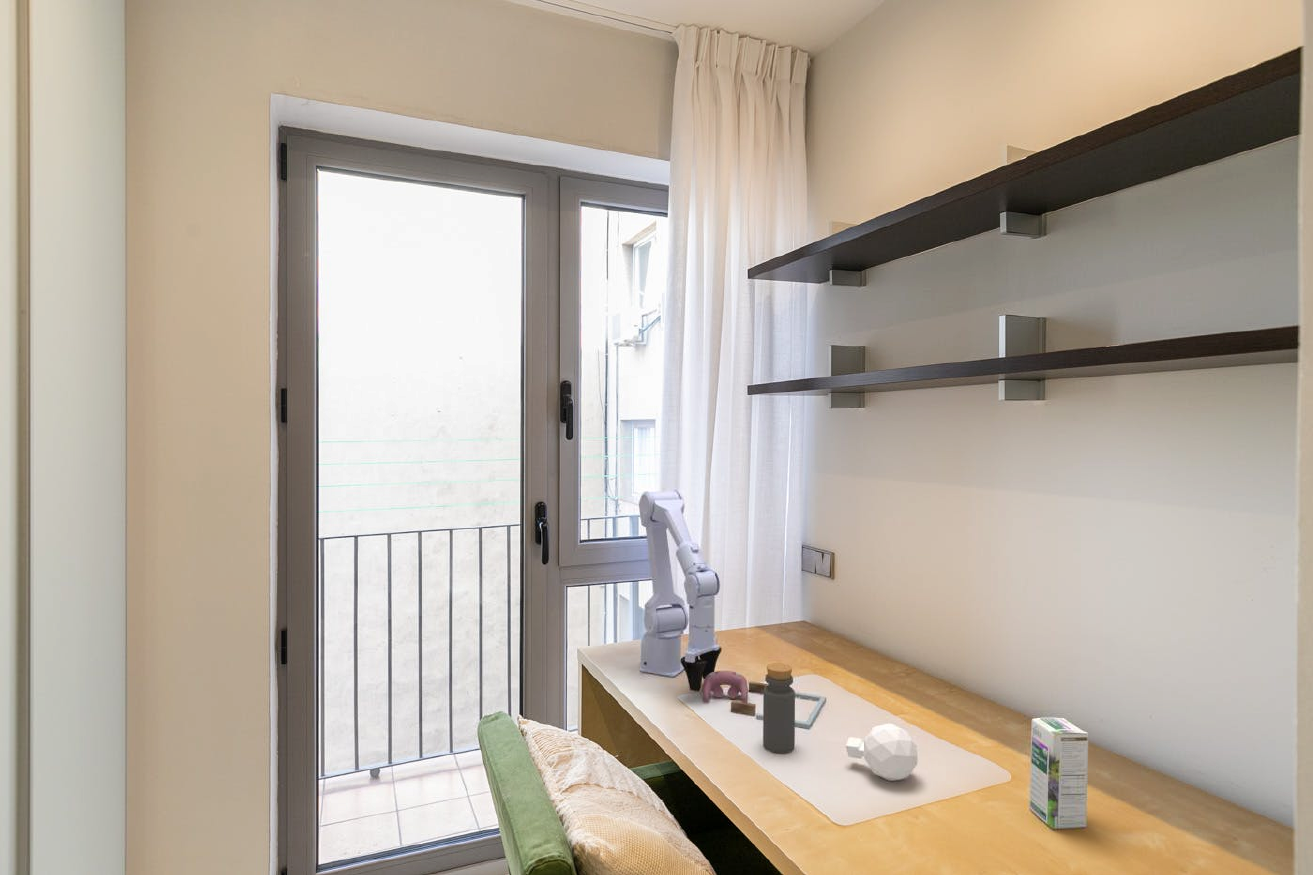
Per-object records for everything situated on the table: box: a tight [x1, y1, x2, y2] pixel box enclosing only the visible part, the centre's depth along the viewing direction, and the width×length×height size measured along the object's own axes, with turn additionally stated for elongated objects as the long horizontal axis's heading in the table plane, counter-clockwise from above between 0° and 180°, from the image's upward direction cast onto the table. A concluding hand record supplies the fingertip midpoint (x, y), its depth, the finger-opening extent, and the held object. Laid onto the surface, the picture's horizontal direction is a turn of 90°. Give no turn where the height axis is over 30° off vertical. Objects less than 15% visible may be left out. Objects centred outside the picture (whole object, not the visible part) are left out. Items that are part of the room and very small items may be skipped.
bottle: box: [762, 662, 796, 754], centre depth 130 cm, size 6×6×15 cm
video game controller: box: [702, 670, 749, 703], centre depth 153 cm, size 10×5×7 cm, turn 84°
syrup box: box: [1029, 716, 1089, 830], centre depth 106 cm, size 6×6×14 cm
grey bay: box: [755, 691, 827, 730], centre depth 147 cm, size 11×16×1 cm
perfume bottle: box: [845, 722, 918, 782], centre depth 120 cm, size 9×9×12 cm
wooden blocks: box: [730, 681, 769, 716], centre depth 151 cm, size 5×13×2 cm, turn 155°
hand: (701, 684), depth 156 cm, fingers open, 7 cm apart
